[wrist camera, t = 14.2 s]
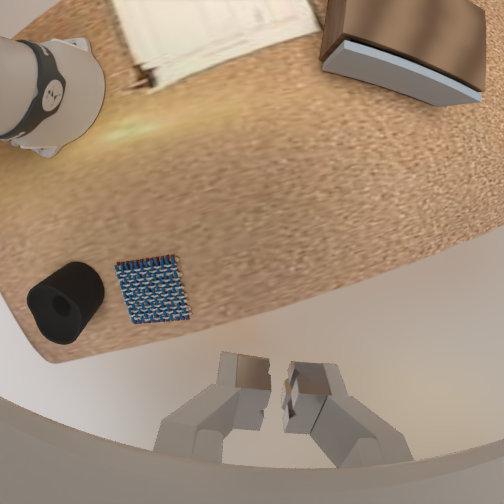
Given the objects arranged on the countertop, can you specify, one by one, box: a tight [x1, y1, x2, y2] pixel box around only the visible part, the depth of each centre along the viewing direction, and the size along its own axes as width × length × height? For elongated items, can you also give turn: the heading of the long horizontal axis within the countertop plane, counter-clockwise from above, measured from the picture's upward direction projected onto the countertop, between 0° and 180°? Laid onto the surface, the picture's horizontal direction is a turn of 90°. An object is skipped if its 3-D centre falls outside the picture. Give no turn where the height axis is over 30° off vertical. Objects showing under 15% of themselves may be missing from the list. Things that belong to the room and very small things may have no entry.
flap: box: [322, 40, 482, 107], centre depth 31 cm, size 18×1×10 cm, turn 81°
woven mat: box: [115, 255, 193, 324], centre depth 46 cm, size 10×11×2 cm
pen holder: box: [27, 262, 104, 345], centre depth 42 cm, size 9×9×10 cm
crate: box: [319, 0, 486, 92], centre depth 29 cm, size 18×12×12 cm, turn 80°
